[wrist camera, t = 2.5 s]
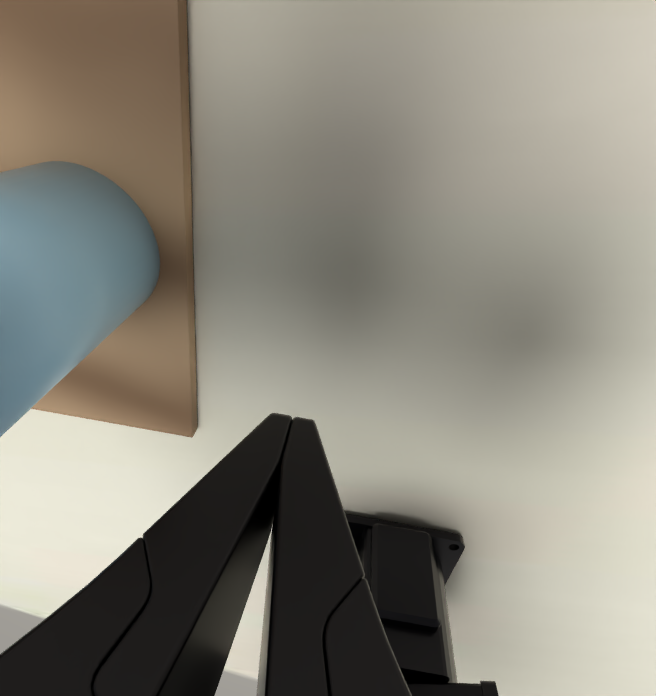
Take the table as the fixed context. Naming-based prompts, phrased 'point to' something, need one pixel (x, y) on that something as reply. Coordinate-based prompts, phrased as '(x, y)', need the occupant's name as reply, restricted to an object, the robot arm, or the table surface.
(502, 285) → the table surface
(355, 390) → the table surface
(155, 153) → the rest
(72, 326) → the bottle
